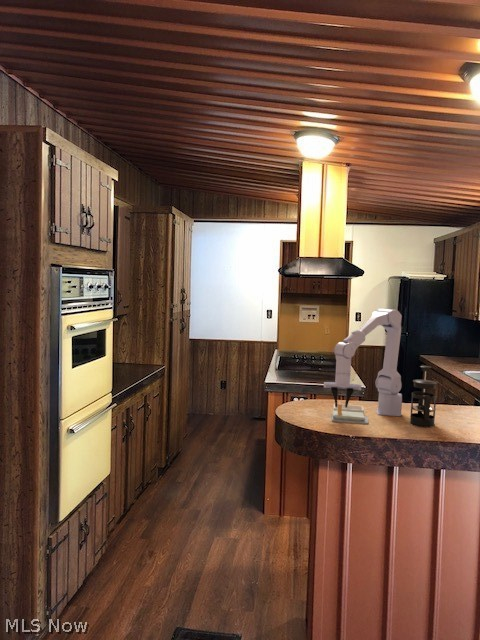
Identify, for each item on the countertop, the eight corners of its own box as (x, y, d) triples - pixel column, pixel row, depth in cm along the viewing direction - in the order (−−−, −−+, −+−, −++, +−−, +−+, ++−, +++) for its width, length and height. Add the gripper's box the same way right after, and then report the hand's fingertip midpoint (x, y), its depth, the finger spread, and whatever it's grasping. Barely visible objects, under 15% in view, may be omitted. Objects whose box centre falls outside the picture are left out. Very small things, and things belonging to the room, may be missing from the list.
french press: (406, 419, 216) (410, 363, 214) (430, 421, 215) (434, 364, 213) (413, 427, 204) (417, 368, 202) (438, 429, 203) (443, 369, 201)
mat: (366, 417, 216) (366, 416, 216) (368, 424, 207) (368, 422, 207) (331, 415, 219) (331, 413, 218) (331, 421, 209) (331, 419, 209)
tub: (362, 411, 226) (362, 405, 226) (363, 416, 219) (363, 410, 218) (333, 409, 228) (333, 403, 228) (333, 414, 220) (334, 408, 220)
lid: (362, 416, 216) (363, 402, 215) (364, 421, 208) (365, 407, 207) (332, 414, 217) (333, 400, 217) (333, 419, 210) (333, 405, 209)
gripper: (324, 373, 209) (322, 407, 210) (362, 375, 207) (360, 410, 208) (324, 370, 216) (322, 403, 217) (361, 372, 214) (359, 406, 215)
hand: (341, 406), depth 213 cm, fingers open, 3 cm apart
